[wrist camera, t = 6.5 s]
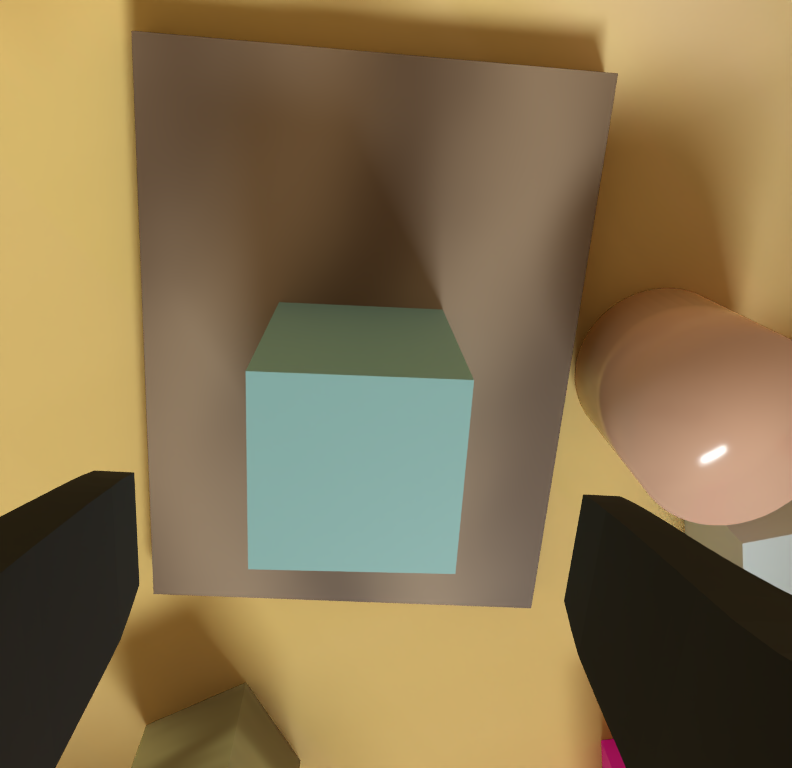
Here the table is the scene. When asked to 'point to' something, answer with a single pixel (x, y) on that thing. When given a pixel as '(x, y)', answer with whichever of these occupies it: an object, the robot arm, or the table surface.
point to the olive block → (216, 736)
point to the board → (358, 275)
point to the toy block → (611, 755)
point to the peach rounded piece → (692, 404)
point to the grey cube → (754, 545)
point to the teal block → (356, 440)
